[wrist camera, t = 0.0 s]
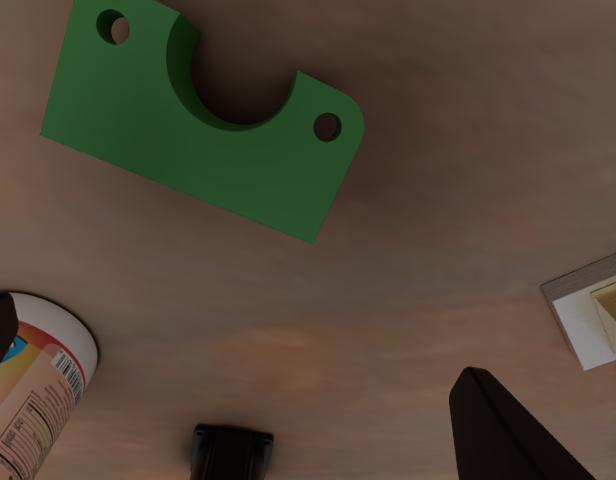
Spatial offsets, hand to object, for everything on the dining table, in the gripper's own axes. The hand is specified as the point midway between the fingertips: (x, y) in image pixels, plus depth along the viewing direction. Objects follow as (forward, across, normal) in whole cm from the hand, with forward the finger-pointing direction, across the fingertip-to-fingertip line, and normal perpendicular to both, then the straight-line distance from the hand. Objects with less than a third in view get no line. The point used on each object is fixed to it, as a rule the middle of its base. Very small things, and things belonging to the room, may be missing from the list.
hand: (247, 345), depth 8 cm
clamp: (+15, +3, 0) cm, 15 cm away
